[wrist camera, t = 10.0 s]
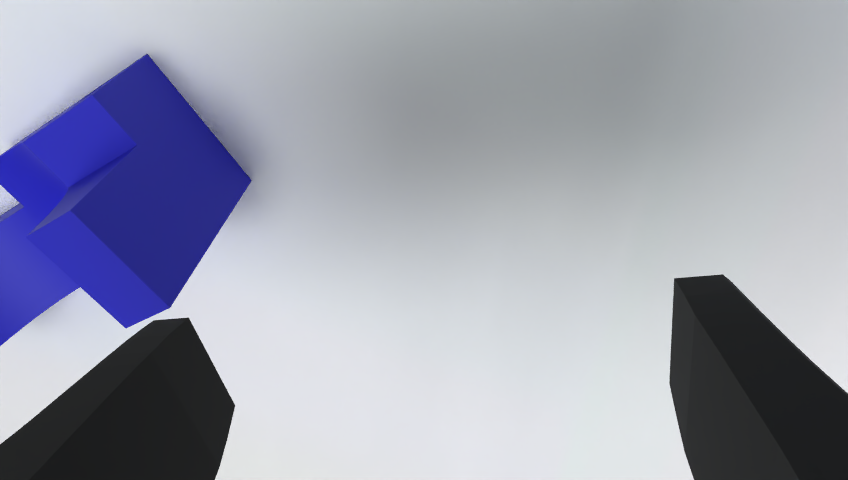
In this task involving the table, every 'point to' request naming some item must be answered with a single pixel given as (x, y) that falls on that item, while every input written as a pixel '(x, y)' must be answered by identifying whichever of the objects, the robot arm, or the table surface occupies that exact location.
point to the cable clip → (113, 202)
